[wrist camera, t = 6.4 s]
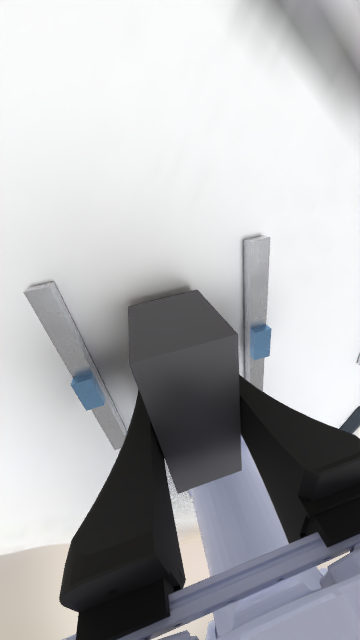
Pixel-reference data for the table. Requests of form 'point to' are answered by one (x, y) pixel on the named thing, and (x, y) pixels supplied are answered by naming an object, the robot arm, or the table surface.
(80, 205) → the table surface
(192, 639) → the robot arm
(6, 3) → the table surface
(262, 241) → the silver and blue frame
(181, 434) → the dark grey block
